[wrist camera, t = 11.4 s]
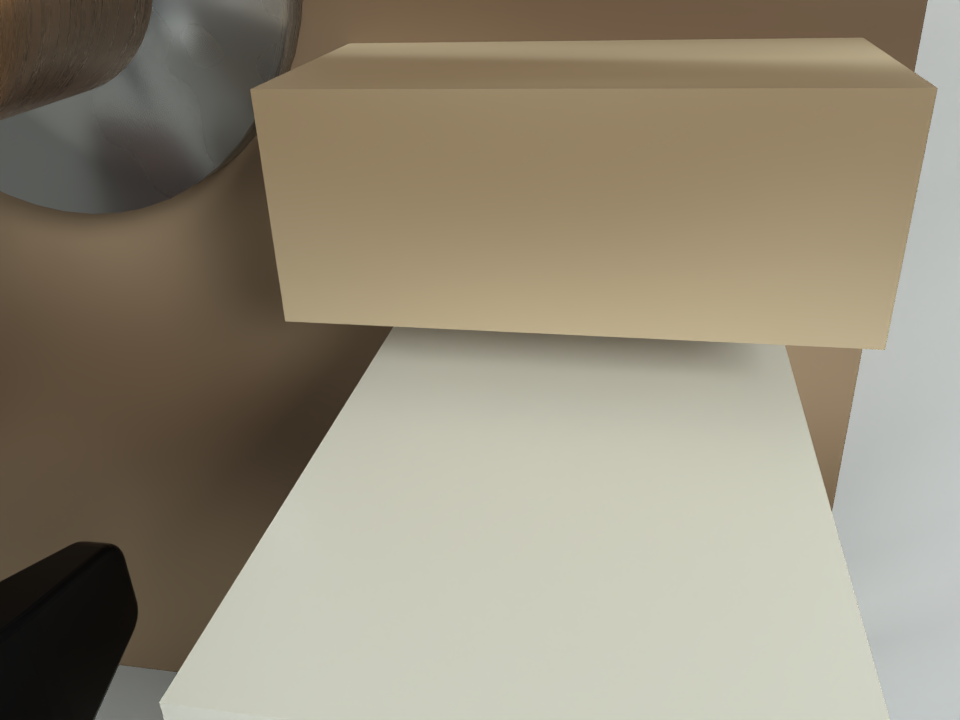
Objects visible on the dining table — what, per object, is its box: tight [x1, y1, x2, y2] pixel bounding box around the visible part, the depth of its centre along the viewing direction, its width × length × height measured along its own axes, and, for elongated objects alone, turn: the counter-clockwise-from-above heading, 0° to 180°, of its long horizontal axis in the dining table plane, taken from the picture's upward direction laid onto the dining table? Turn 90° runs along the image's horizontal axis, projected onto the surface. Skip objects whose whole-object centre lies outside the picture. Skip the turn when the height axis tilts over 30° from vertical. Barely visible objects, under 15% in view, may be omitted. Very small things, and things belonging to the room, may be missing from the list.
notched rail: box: [250, 38, 937, 350], centre depth 10 cm, size 10×5×2 cm, turn 2°
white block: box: [159, 327, 890, 720], centre depth 8 cm, size 4×4×6 cm
